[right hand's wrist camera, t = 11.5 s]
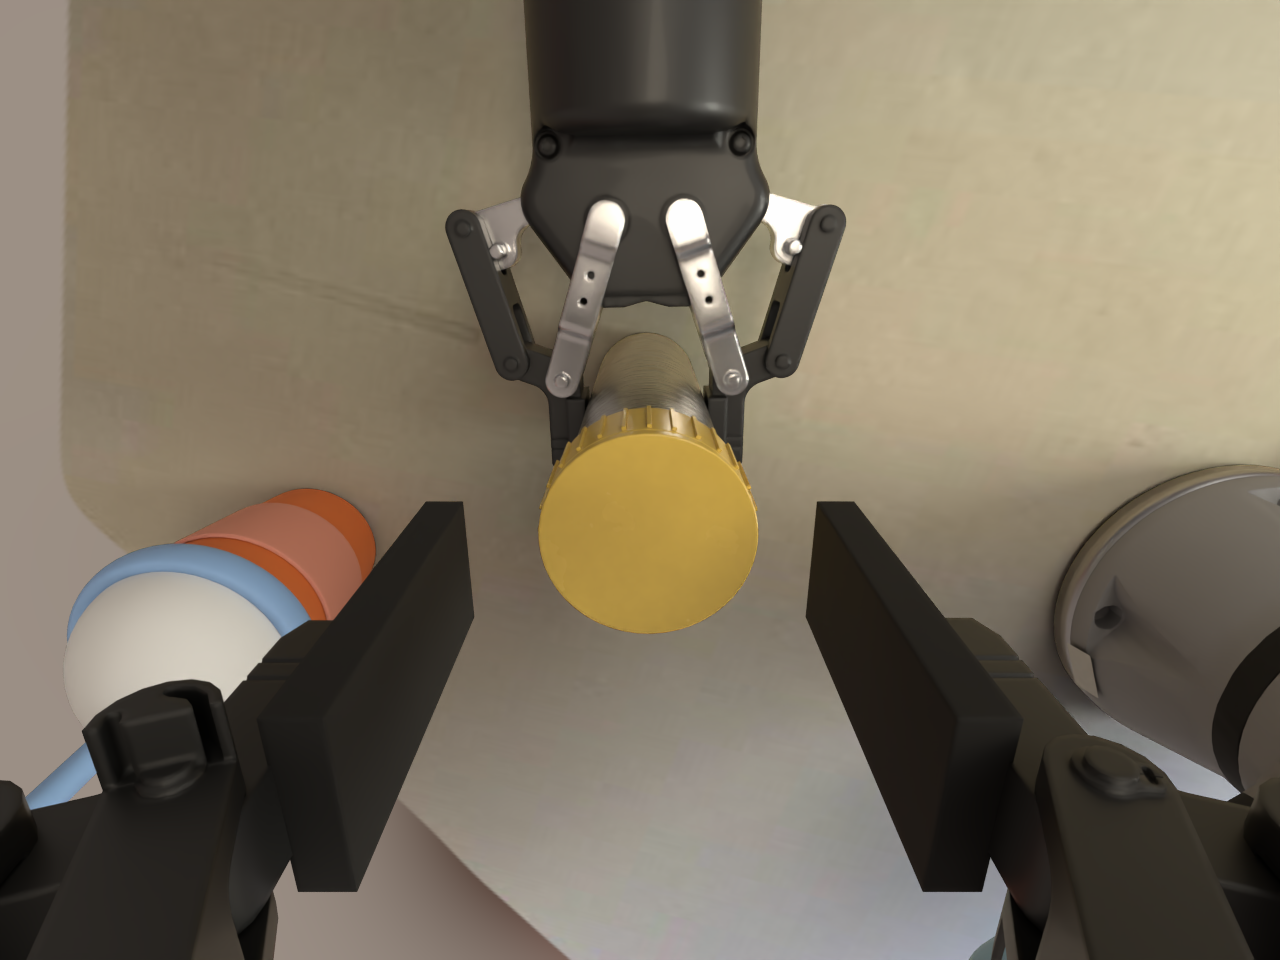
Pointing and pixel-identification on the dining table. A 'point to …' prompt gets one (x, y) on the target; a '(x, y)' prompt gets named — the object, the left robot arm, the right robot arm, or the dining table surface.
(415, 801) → the dining table surface
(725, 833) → the dining table surface
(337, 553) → the cup with straw
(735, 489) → the lid
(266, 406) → the dining table surface
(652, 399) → the metal bottle
